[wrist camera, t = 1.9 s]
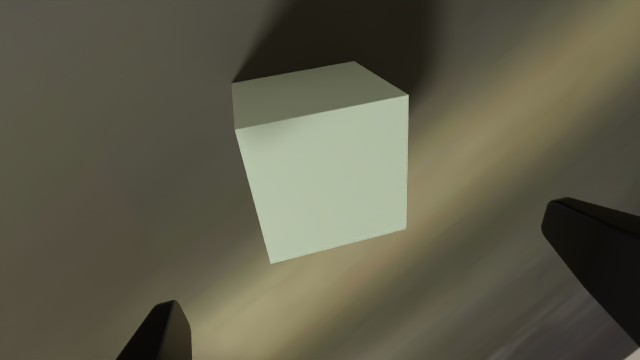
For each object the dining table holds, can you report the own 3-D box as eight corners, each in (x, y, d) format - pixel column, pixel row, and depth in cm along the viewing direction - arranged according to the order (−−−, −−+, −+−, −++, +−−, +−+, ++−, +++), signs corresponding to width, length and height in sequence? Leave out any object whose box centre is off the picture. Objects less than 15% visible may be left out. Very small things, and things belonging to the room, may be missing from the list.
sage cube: (353, 60, 14) (408, 94, 10) (360, 166, 17) (405, 228, 13) (231, 82, 13) (235, 129, 9) (258, 189, 16) (270, 263, 12)
